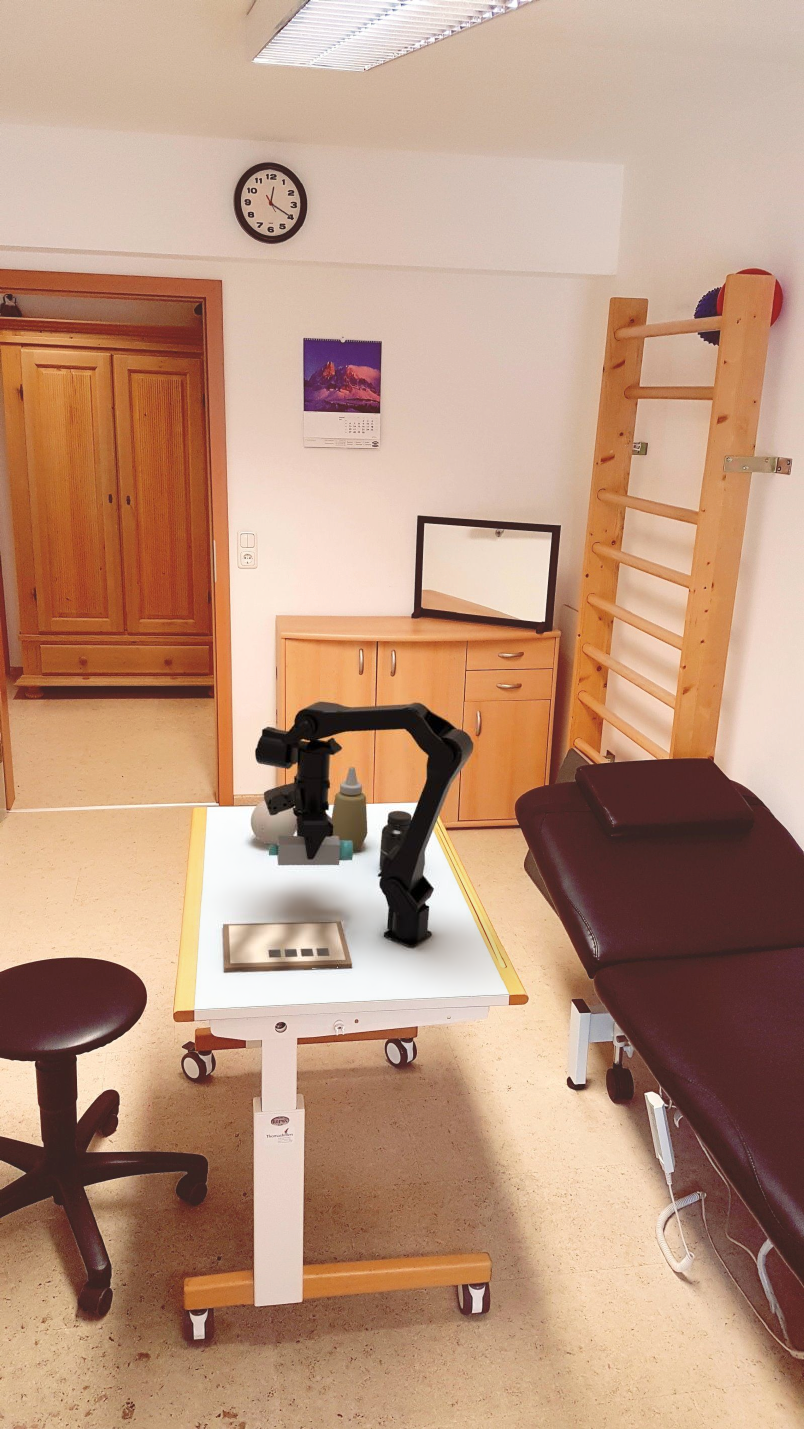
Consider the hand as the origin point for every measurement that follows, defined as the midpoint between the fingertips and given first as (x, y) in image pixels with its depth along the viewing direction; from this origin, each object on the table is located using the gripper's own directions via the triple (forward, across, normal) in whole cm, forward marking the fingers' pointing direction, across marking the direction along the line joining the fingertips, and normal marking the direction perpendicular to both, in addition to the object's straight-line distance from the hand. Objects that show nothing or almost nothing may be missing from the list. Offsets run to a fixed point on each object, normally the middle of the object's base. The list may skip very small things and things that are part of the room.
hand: (309, 854), depth 185 cm
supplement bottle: (+12, -18, +20) cm, 29 cm away
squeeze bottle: (+12, -29, +11) cm, 33 cm away
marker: (+1, 0, 0) cm, 1 cm away
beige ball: (+12, -32, -5) cm, 34 cm away
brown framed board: (+12, +13, -5) cm, 18 cm away
